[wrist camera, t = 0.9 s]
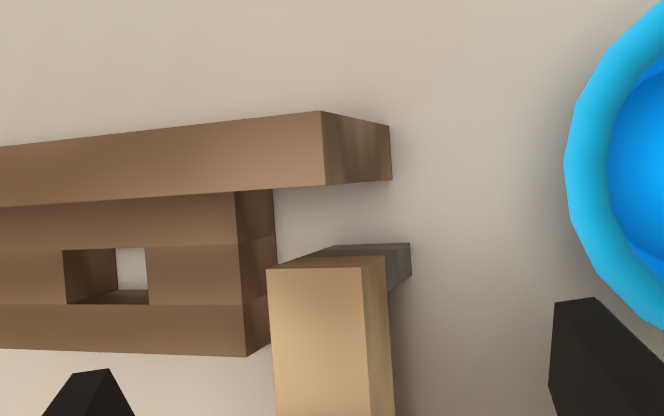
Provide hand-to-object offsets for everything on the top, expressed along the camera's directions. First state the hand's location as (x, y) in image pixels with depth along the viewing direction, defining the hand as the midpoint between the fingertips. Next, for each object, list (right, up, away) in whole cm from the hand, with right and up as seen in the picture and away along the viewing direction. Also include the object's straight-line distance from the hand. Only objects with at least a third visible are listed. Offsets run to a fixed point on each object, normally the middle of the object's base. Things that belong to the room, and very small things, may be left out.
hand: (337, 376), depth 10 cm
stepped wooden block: (-8, 0, +17) cm, 19 cm away
